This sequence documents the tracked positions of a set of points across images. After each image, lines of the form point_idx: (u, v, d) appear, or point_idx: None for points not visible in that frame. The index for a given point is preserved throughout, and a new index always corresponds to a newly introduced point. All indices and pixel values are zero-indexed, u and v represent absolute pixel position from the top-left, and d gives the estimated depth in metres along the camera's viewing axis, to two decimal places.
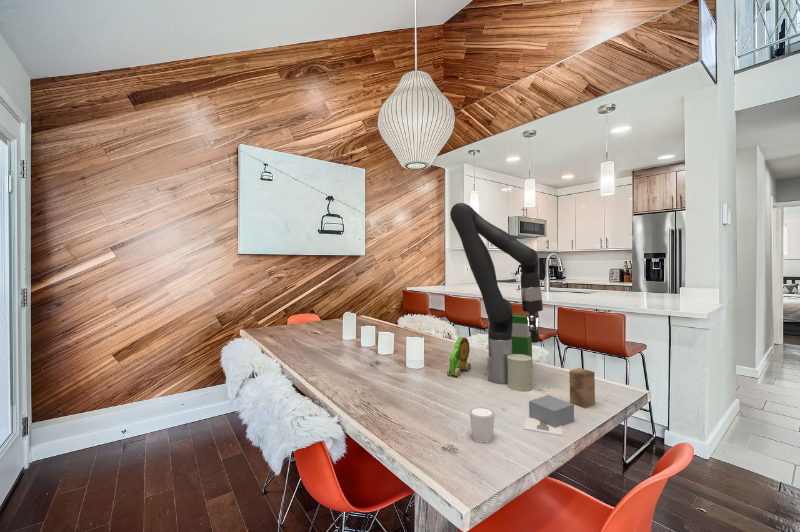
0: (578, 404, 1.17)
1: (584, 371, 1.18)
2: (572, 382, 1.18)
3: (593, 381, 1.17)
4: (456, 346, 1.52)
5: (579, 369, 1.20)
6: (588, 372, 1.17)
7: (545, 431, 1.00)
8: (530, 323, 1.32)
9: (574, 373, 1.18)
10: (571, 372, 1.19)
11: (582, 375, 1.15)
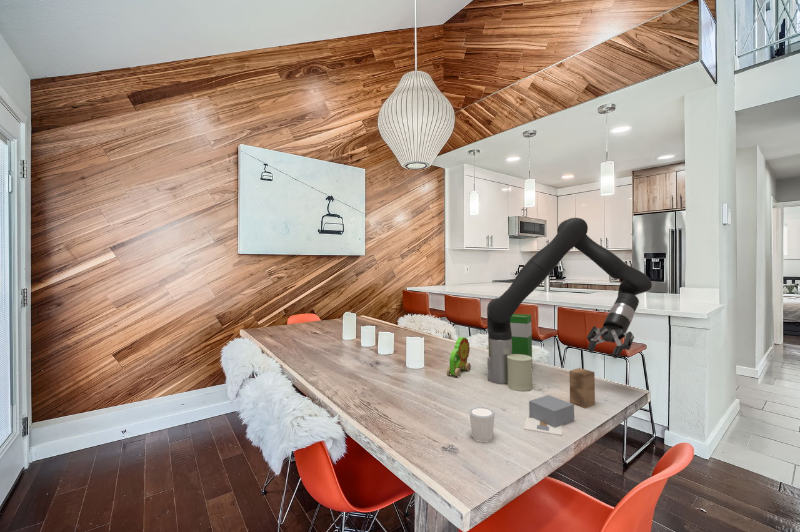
0: (578, 404, 1.17)
1: (584, 371, 1.18)
2: (572, 382, 1.18)
3: (593, 381, 1.17)
4: (456, 346, 1.52)
5: (579, 369, 1.20)
6: (588, 372, 1.17)
7: (545, 431, 1.00)
8: (630, 339, 1.20)
9: (574, 373, 1.18)
10: (571, 372, 1.19)
11: (582, 375, 1.15)
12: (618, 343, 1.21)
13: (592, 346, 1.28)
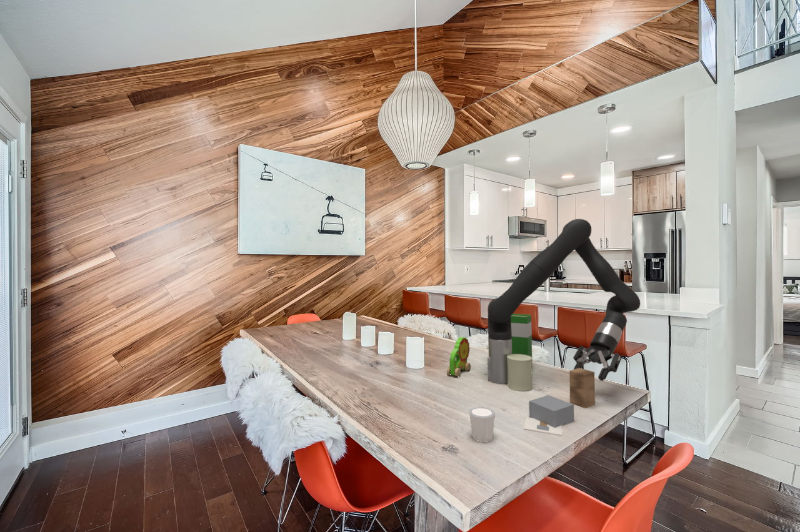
0: (578, 404, 1.17)
1: (584, 371, 1.18)
2: (572, 382, 1.18)
3: (593, 381, 1.17)
4: (456, 346, 1.52)
5: (579, 369, 1.20)
6: (588, 372, 1.17)
7: (545, 431, 1.00)
8: (616, 361, 1.16)
9: (574, 373, 1.18)
10: (571, 372, 1.19)
11: (582, 375, 1.15)
12: (605, 365, 1.17)
13: (578, 367, 1.24)
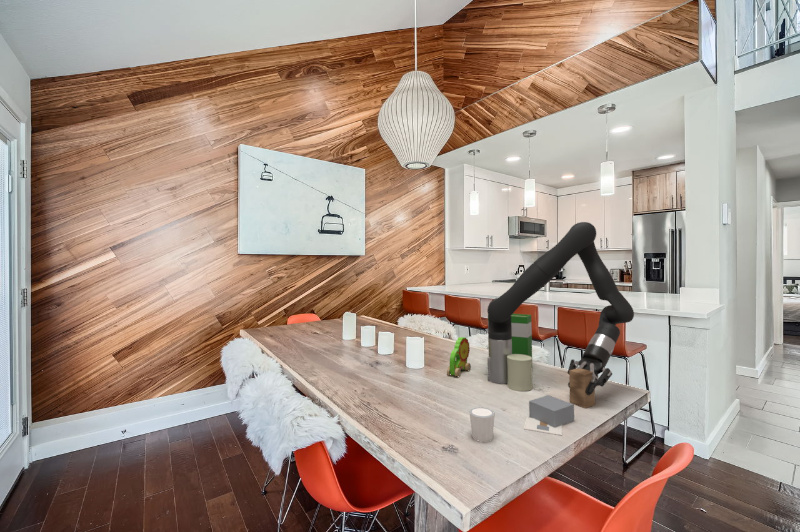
0: (578, 404, 1.17)
1: (584, 371, 1.18)
2: (572, 382, 1.18)
3: None
4: (456, 346, 1.52)
5: (579, 369, 1.20)
6: (588, 372, 1.17)
7: (545, 431, 1.00)
8: (605, 376, 1.14)
9: (574, 373, 1.18)
10: (571, 372, 1.19)
11: (582, 375, 1.15)
12: (592, 379, 1.16)
13: None
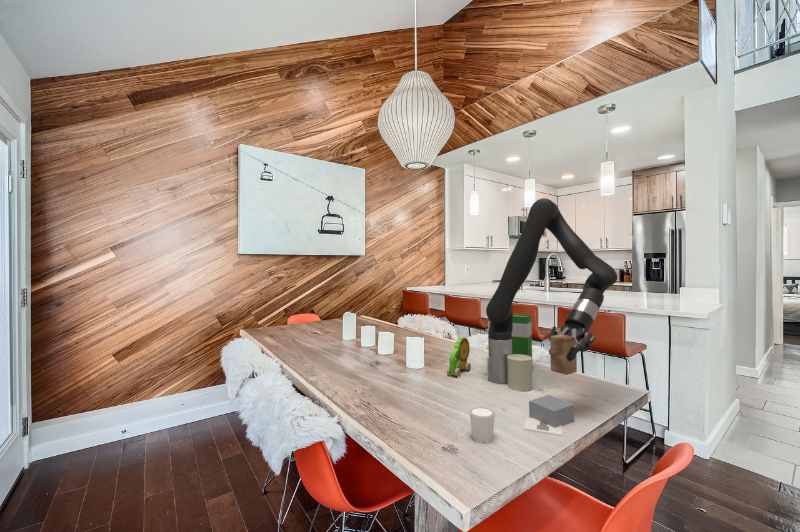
0: (559, 371, 1.10)
1: (566, 336, 1.12)
2: (553, 348, 1.12)
3: None
4: (456, 346, 1.52)
5: (560, 335, 1.14)
6: (570, 337, 1.10)
7: (545, 431, 1.00)
8: (588, 341, 1.08)
9: (555, 338, 1.11)
10: (552, 337, 1.12)
11: (563, 340, 1.08)
12: (574, 344, 1.09)
13: None
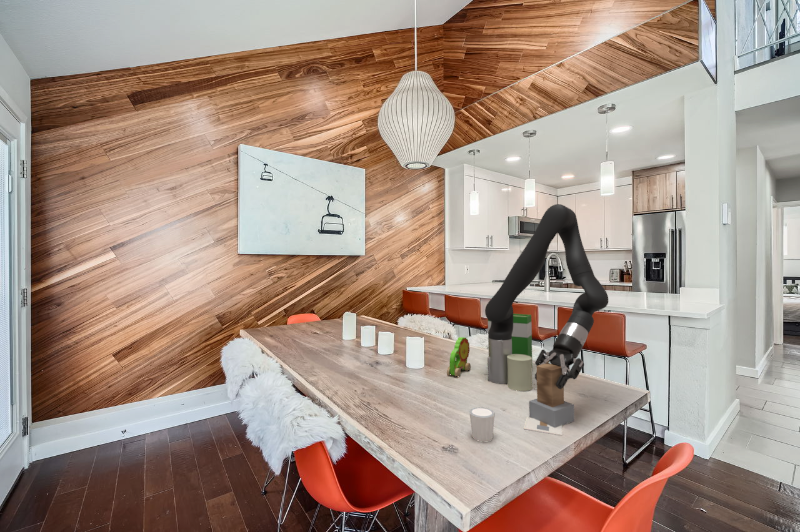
0: (545, 402, 1.06)
1: (552, 366, 1.08)
2: (539, 379, 1.08)
3: None
4: (456, 346, 1.52)
5: (547, 364, 1.10)
6: (556, 367, 1.06)
7: (545, 431, 1.00)
8: (577, 367, 1.03)
9: (541, 368, 1.07)
10: (538, 367, 1.08)
11: (549, 371, 1.05)
12: (564, 371, 1.05)
13: None
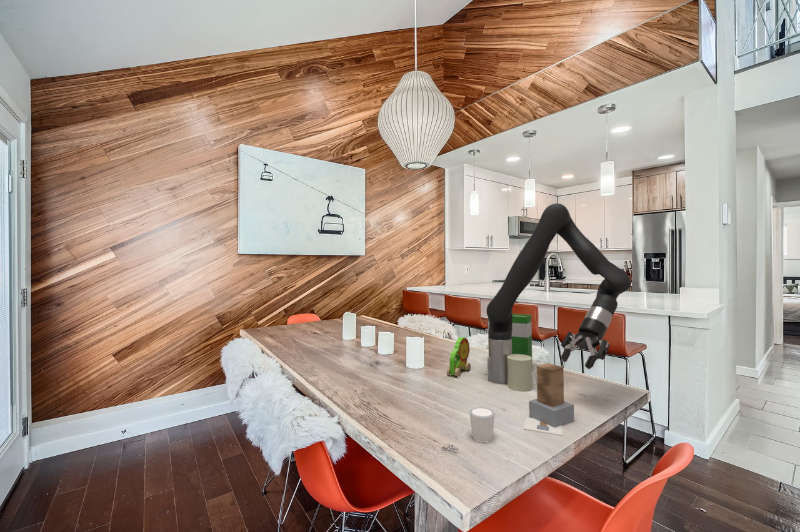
0: (545, 402, 1.06)
1: (553, 366, 1.08)
2: (539, 379, 1.08)
3: (562, 377, 1.06)
4: (456, 346, 1.52)
5: (547, 364, 1.10)
6: (556, 367, 1.06)
7: (545, 431, 1.00)
8: (604, 348, 1.10)
9: (541, 368, 1.07)
10: (538, 367, 1.08)
11: (549, 370, 1.05)
12: (592, 352, 1.11)
13: (566, 354, 1.18)
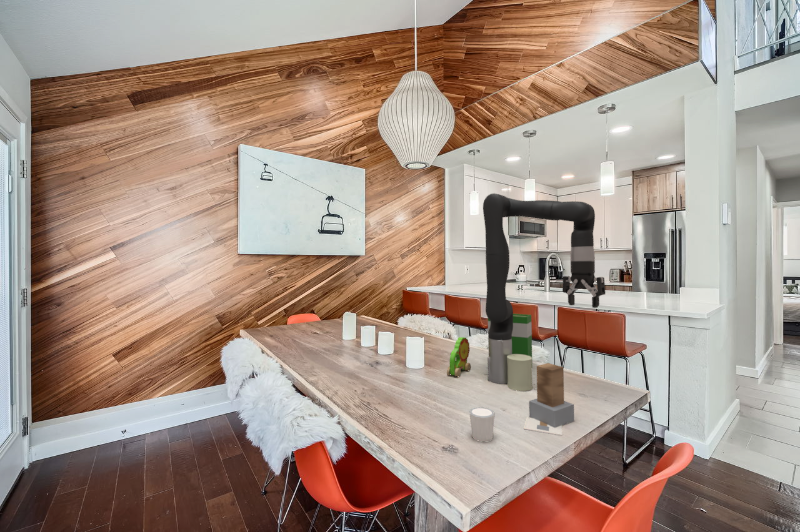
0: (545, 402, 1.06)
1: (553, 366, 1.08)
2: (539, 379, 1.08)
3: (562, 377, 1.06)
4: (456, 346, 1.52)
5: (547, 364, 1.10)
6: (556, 367, 1.06)
7: (545, 431, 1.00)
8: (601, 285, 1.17)
9: (541, 368, 1.07)
10: (538, 367, 1.08)
11: (549, 370, 1.05)
12: (593, 293, 1.18)
13: (571, 299, 1.26)
